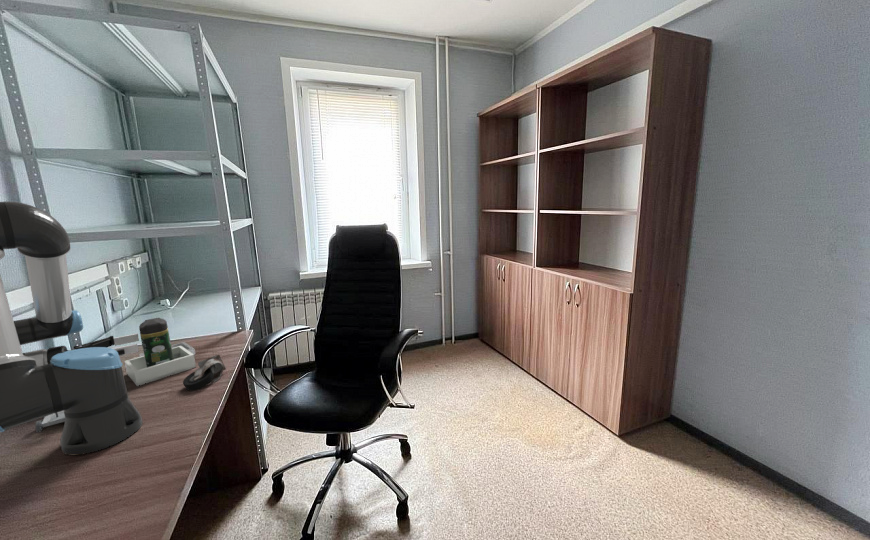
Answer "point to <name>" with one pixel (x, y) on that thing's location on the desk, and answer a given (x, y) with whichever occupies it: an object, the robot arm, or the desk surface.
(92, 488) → the desk surface
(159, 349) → the coffee jar
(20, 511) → the desk surface
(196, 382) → the caster wheel
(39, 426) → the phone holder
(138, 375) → the tray
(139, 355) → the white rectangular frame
